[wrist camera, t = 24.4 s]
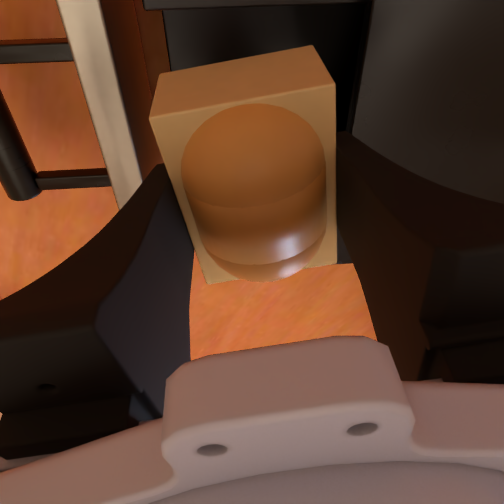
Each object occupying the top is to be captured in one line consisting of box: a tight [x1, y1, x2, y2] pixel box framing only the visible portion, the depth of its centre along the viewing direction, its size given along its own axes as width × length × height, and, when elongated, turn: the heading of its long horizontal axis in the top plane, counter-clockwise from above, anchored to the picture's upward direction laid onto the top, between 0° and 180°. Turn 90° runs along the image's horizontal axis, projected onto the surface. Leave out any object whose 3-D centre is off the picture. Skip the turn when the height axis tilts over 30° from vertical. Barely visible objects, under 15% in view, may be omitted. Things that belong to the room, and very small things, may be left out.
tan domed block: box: [149, 45, 337, 284], centre depth 12 cm, size 4×6×4 cm
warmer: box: [336, 0, 504, 264], centre depth 16 cm, size 13×12×7 cm
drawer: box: [0, 0, 366, 211], centre depth 16 cm, size 17×10×5 cm, turn 91°
